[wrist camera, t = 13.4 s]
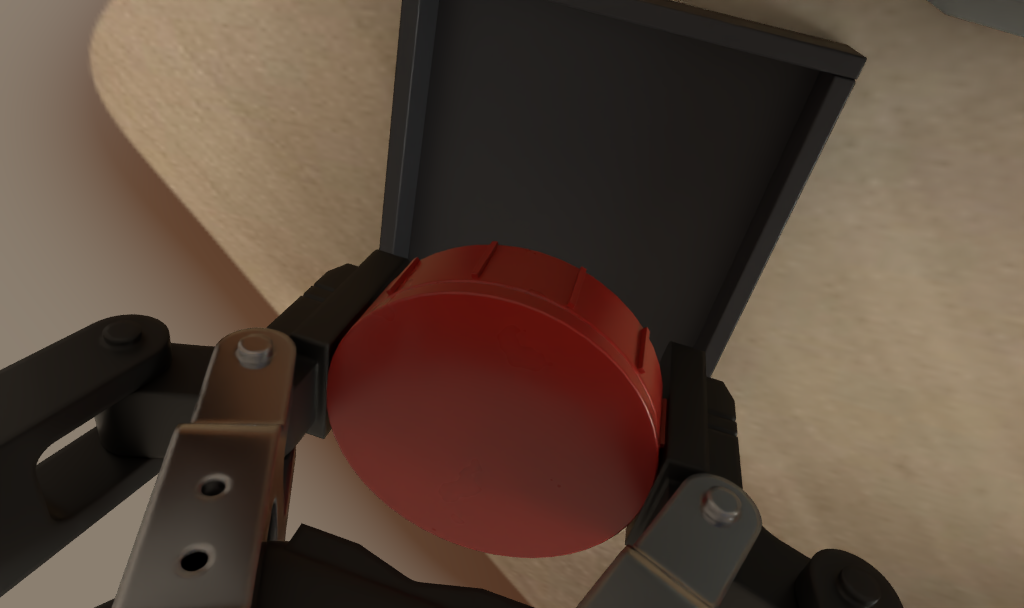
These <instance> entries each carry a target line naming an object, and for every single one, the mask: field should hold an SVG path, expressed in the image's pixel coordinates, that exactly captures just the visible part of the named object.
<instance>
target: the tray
mask: <svg viewBox="0 0 1024 608" xmlns="http://www.w3.org/2000/svg"><path fill="white" fill-rule="evenodd" d="M866 60H867V58H866V57H865V56H863V55H862V54H860V53H859V52H857V51H856V50H854V49H853V48H851V47H850V46H848V45H846V44H842V43H838V42H834V41H830V40H826V39H822V38H818V37H814V36H810V35H806V34H802V33H798V32H794V31H790V30H786V29H782V28H778V27H774V26H770V25H766V24H762V23H758V22H754V21H750V20H746V19H742V18H738V17H734V16H730V15H726V14H722V13H718V12H714V11H710V10H706V9H702V8H698V7H694V6H690V5H686V4H682V3H678V2H674V1H670V0H402V6H401V17H400V28H399V39H398V50H397V61H396V72H395V83H394V94H393V105H392V116H391V127H390V138H389V149H388V160H387V171H386V182H385V193H384V204H383V215H382V226H381V237H380V248H379V250H381V251H384V252H387V253H391V254H394V255H397V256H400V257H404V258H407V259H409V260H410V262H411V261H412V260H413V259H414V258H416V257H418V258H419V260H421V259H424V258H426V257H428V256H430V255H433V254H435V253H438V252H441V251H445V250H448V249H452V248H457V247H463V246H471V245H490V244H491V242H492V241H498V245H505V246H514V247H521V248H525V249H529V250H534V251H538V252H541V253H544V254H547V255H550V256H552V257H555V258H558V259H561V260H563V261H565V262H567V263H569V264H571V265H573V266H575V267H577V268H579V269H580V267H581V266H582V267H584V268H585V269H587V270H586V273H587V274H589V275H591V276H592V277H594V278H595V279H596V280H598V281H599V282H601V283H602V284H603V285H604V286H606V287H607V288H608V289H609V290H610V291H612V292H613V293H614V294H615V295H616V296H617V297H618V298H619V299H620V300H621V301H622V302H623V303H624V304H625V305H626V306H627V307H628V308H629V310H630V311H631V312H632V313H633V314H634V316H635V317H636V318H637V320H638V321H639V323H640V324H641V326H642V327H643V328H645V327H647V328H648V329H649V331H650V335H649V340H650V342H651V344H652V345H653V347H654V350H655V353H656V356H657V359H658V362H659V363H660V360H661V358H662V356H663V353H664V351H665V349H666V347H667V345H668V343H669V342H670V341H673V342H676V343H679V344H682V345H685V346H689V347H692V348H695V349H698V350H702V351H704V352H705V354H706V377H709V378H710V377H711V375H712V373H713V371H714V369H715V367H716V365H717V363H718V361H719V359H720V357H721V355H722V353H723V351H724V349H725V347H726V344H727V342H728V340H729V338H730V336H731V334H732V332H733V330H734V328H735V326H736V324H737V322H738V320H739V318H740V316H741V314H742V312H743V310H744V308H745V306H746V304H747V302H748V300H749V298H750V296H751V294H752V292H753V290H754V288H755V286H756V284H757V282H758V280H759V278H760V276H761V273H762V271H763V269H764V267H765V265H766V263H767V261H768V259H769V257H770V255H771V253H772V251H773V249H774V247H775V245H776V243H777V241H778V239H779V237H780V235H781V233H782V231H783V229H784V227H785V225H786V223H787V221H788V219H789V217H790V215H791V213H792V211H793V209H794V207H795V205H796V202H797V200H798V198H799V196H800V194H801V192H802V190H803V188H804V186H805V184H806V182H807V180H808V178H809V176H810V174H811V172H812V170H813V168H814V166H815V164H816V162H817V160H818V158H819V156H820V154H821V152H822V150H823V148H824V146H825V144H826V142H827V140H828V138H829V136H830V134H831V131H832V129H833V127H834V125H835V123H836V121H837V119H838V117H839V115H840V113H841V111H842V109H843V107H844V105H845V103H846V101H847V99H848V97H849V95H850V93H851V91H852V89H853V87H854V85H855V82H856V81H855V80H854V79H857V78H858V77H859V75H860V73H861V71H862V69H863V67H864V64H865V62H866Z"/></svg>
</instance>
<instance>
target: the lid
mask: <svg viewBox="0 0 1024 608" xmlns="http://www.w3.org/2000/svg"><path fill="white" fill-rule="evenodd" d="M586 270H587V269H585V268H584V267H582V266H581V267H580V269H579V268H577V267H575V266H573V265H571V264H569V263H567V262H565V261H563V260H561V259H558V258H555V257H552V256H550V255H547V254H544V253H541V252H538V251H534V250H529V249H525V248H521V247H514V246H505V245H498V241H492V242H491V244H490V245H471V246H463V247H457V248H452V249H448V250H445V251H441V252H438V253H435V254H433V255H430V256H428V257H426V258H424V259H421V260H419V258H418V257H416V258H414V259H413V260H412V261H411V262H410V264H409V265H408V266H407V267H406V268H405V269H404V270H403V272H401V273H400V274H399V275H398V276H397V277H396V278H395V279H394V280H393V281H392V282H391V283H390V284H389V285H388V286H387V287H386V288H385V290H384V291H383V292H382V293H381V294H380V295H379V296H378V298H377V299H376V300H375V301H374V302H373V303H372V304H371V306H370V307H369V308H368V309H367V310H366V311H365V313H364V314H363V315H362V316H361V317H360V318H359V320H358V321H357V322H356V323H355V324H354V325H353V326H352V327H351V329H350V330H349V331H348V332H347V334H346V335H345V336H344V337H343V338H342V340H341V341H340V343H339V345H338V347H337V349H336V351H335V353H334V355H333V357H332V360H331V363H330V366H329V370H328V381H327V412H328V417H329V422H330V425H331V428H332V431H333V434H334V437H335V439H336V441H337V443H338V445H339V447H340V449H341V451H342V453H343V455H344V456H345V458H346V460H347V461H348V463H349V464H350V466H351V467H352V469H353V470H354V471H355V473H356V474H357V475H358V476H359V478H360V479H361V480H362V481H363V482H364V484H365V485H366V486H367V487H368V488H369V489H370V490H371V491H372V492H373V493H374V494H375V495H376V496H377V497H378V498H380V499H381V500H382V501H383V502H384V503H385V504H386V505H388V506H389V507H390V508H391V509H393V510H394V511H395V512H397V513H398V514H400V515H401V516H402V517H404V518H405V519H407V520H408V521H410V522H412V523H413V524H415V525H417V526H418V527H420V528H422V529H423V530H425V531H427V532H430V533H431V534H433V535H436V536H438V537H440V538H442V539H444V540H447V541H450V542H452V543H454V544H457V545H460V546H463V547H466V548H470V549H473V550H476V551H481V552H485V553H490V554H494V555H501V556H509V557H520V558H542V557H555V556H561V555H567V554H572V553H575V552H579V551H582V550H586V549H589V548H591V547H593V546H596V545H598V544H601V543H603V542H604V541H606V540H608V539H610V538H611V537H613V536H615V535H616V534H618V533H619V532H620V531H621V530H623V529H624V528H625V527H626V526H628V525H629V524H630V523H631V522H632V521H633V519H634V518H635V517H636V516H637V515H638V514H639V512H640V510H641V508H642V506H643V504H644V502H645V500H646V498H647V496H648V494H649V492H650V490H651V488H652V486H653V484H654V481H655V479H656V476H657V470H658V465H659V448H663V446H664V443H665V424H666V405H667V399H665V398H663V383H662V377H661V371H660V365H659V362H658V359H657V356H656V353H655V350H654V347H653V345H652V344H651V342H650V340H649V335H650V331H649V329H648V328H647V327H645V328H643V327H642V326H641V324H640V323H639V321H638V320H637V318H636V317H635V316H634V314H633V313H632V312H631V311H630V310H629V308H628V307H627V306H626V305H625V304H624V303H623V302H622V301H621V300H620V299H619V298H618V297H617V296H616V295H615V294H614V293H613V292H612V291H610V290H609V289H608V288H607V287H606V286H604V285H603V284H602V283H601V282H599V281H598V280H596V279H595V278H594V277H592V276H591V275H589V274H587V273H586Z"/></svg>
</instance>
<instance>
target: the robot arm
mask: <svg viewBox="0 0 1024 608" xmlns="http://www.w3.org/2000/svg"><path fill="white" fill-rule="evenodd" d="M409 264H410V260H409V259H407V258H404V257H400V256H397V255H394V254H391V253H387V252H384V251H381V250H375V251H374V252H373V253H372V254H371V255H370V256H369V257H368V258H367V259H366V260H365V261H364V262H363V263H362V264H360V265H359V266H355V265H352V264H345V265H343V266H340V267H337V268H335V269H332V270H330V271H328V272H326V273H325V274H324V275H323V276H322V277H321V278H320V279H319V280H318V281H317V282H316V283H315V284H314V286H311V287H310V288H309V289H308V290H307V291H306V292H305V293H304V295H303V296H300V297H299V298H298V299H297V300H296V301H295V302H294V303H293V304H292V305H291V306H289V307H288V308H287V309H286V310H285V311H284V312H283V313H282V314H281V315H280V316H279V317H278V318H276V319H275V320H274V321H273V322H272V323H271V324H270V325H269V326H268V327H267V328H248V329H243V330H239V331H236V332H233V333H231V334H229V335H227V336H225V337H224V338H222V339H221V340H220V341H219V342H218V343H217V345H216V346H215V347H213V346H199V345H187V344H176V343H171V342H170V335H169V330H168V328H167V326H166V325H165V324H164V323H163V322H161V321H160V320H158V319H155V318H153V317H149V316H144V315H132V314H131V315H120V316H114V317H110V318H106V319H103V320H100V321H98V322H95V323H93V324H91V325H89V326H87V327H85V328H83V329H81V330H79V331H77V332H75V333H73V334H71V335H69V336H67V337H66V338H64V339H61V340H60V341H57V342H55V343H53V344H51V345H49V346H47V347H46V348H43V349H41V350H39V351H37V352H35V353H34V354H32V355H29V356H28V357H26V358H24V359H22V360H20V361H18V362H16V363H14V364H12V365H10V366H8V367H6V368H4V369H2V370H0V597H1V596H3V595H4V594H5V593H6V592H7V591H9V590H10V589H12V588H13V587H14V586H15V585H17V584H18V583H19V582H20V581H22V580H23V579H24V578H26V577H27V576H28V575H29V574H31V573H32V572H33V571H35V570H36V569H37V568H38V567H39V566H41V565H42V564H43V563H45V562H46V561H47V560H49V559H50V558H51V557H52V556H54V555H55V554H56V553H57V552H59V551H60V550H61V549H63V548H64V547H65V546H66V545H68V544H69V543H70V542H71V541H73V540H74V539H75V538H77V537H78V536H79V535H80V534H82V533H83V532H84V531H86V530H87V529H88V528H89V527H91V526H92V525H93V524H94V523H96V522H97V521H98V520H99V519H101V518H102V517H103V516H105V515H106V514H107V513H108V512H110V511H111V510H112V509H114V508H115V507H116V506H117V505H118V504H120V503H121V502H122V501H123V500H125V499H126V498H128V497H129V496H130V495H131V494H132V493H134V492H135V491H136V490H137V489H139V488H140V487H141V486H143V485H144V484H145V483H147V482H148V481H149V480H151V479H152V478H153V477H154V476H156V475H157V474H158V473H159V474H158V477H157V480H156V483H155V486H154V489H153V491H152V494H151V497H150V501H149V503H148V506H147V509H146V511H145V514H144V517H143V520H142V523H141V526H140V529H139V532H138V534H137V537H136V540H135V543H134V546H133V548H132V551H131V554H130V557H129V560H128V563H127V565H126V568H125V571H124V574H123V577H122V580H121V582H120V585H119V588H118V591H117V594H116V597H115V598H114V599H112V600H110V601H108V602H106V603H103V604H101V605H99V606H97V607H95V608H534V607H531V606H528V605H526V604H523V603H520V602H517V601H514V600H512V599H509V598H506V597H504V596H501V595H498V594H495V593H493V592H490V591H487V590H484V589H479V588H470V587H460V586H451V585H441V584H431V583H422V582H416V581H413V580H411V579H409V578H408V577H406V576H404V575H403V574H402V573H400V572H399V571H397V570H396V569H395V568H393V567H392V566H390V565H389V564H387V563H386V562H384V561H383V560H381V559H380V558H379V557H377V556H376V555H374V554H373V553H371V552H370V551H368V550H367V549H366V548H364V547H363V546H361V545H360V544H357V543H355V542H352V541H349V540H346V539H344V538H341V537H338V536H335V535H333V534H330V533H327V532H324V531H322V530H319V529H316V528H313V527H310V526H307V525H305V524H301V525H300V527H299V528H298V530H297V531H296V533H295V534H294V536H293V537H292V539H291V540H290V541H285V534H286V525H287V519H288V510H289V503H290V495H291V488H292V481H293V473H294V465H295V458H296V445H297V444H298V442H299V441H300V440H301V439H302V437H303V436H304V435H305V433H308V434H310V435H314V436H316V437H319V438H322V439H324V438H325V437H326V436H327V434H328V433H329V432H330V430H331V429H332V428H331V425H330V422H329V417H328V412H327V381H328V370H329V366H330V363H331V360H332V357H333V355H334V353H335V351H336V349H337V347H338V345H339V343H340V341H341V340H342V338H343V337H344V336H345V335H346V334H347V332H348V331H349V330H350V329H351V327H352V326H353V325H354V324H355V323H356V322H357V321H358V320H359V318H360V317H361V316H362V315H363V314H364V313H365V311H366V310H367V309H368V308H369V307H370V306H371V304H372V303H373V302H374V301H375V300H376V299H377V298H378V296H379V295H380V294H381V293H382V292H383V291H384V290H385V288H386V287H387V286H388V285H389V284H390V283H391V282H392V281H393V280H394V279H395V278H396V277H397V276H398V275H399V274H400V273H401V272H403V270H404V269H405V268H406V267H407V266H408V265H409ZM659 365H660V371H661V377H662V383H663V398H665V399H667V405H666V424H665V443H664V446H663V448H659V465H658V470H657V476H656V479H655V481H654V484H653V486H652V488H651V490H650V492H649V494H648V496H647V498H646V500H645V502H644V504H643V506H642V508H641V510H640V512H639V514H638V515H637V516H636V517H635V518H634V519H633V521H632V522H631V523H630V524H629V525H628V526H627V528H626V537H625V545H627V546H626V547H625V548H624V549H623V550H622V551H621V552H620V553H619V555H618V556H617V557H616V558H615V560H614V561H613V562H612V563H611V565H610V566H609V567H608V568H607V570H606V571H605V572H604V573H603V575H602V576H601V577H600V578H599V580H598V581H597V582H596V583H595V585H594V586H593V587H592V588H591V590H590V591H589V592H588V593H587V594H586V596H585V597H584V598H583V599H582V601H581V602H580V603H579V604H578V606H577V607H576V608H903V605H902V603H901V601H900V599H899V597H898V595H897V593H896V592H895V590H894V589H893V587H892V586H891V584H890V583H889V582H888V581H887V580H886V578H885V577H884V576H883V575H882V574H881V573H880V572H879V571H878V570H877V569H875V568H874V567H873V566H872V565H870V564H869V563H867V562H866V561H864V560H863V559H861V558H859V557H858V556H856V555H854V554H851V553H849V552H846V551H843V550H838V549H824V550H821V551H819V552H817V553H816V554H815V555H814V556H813V557H812V558H811V559H810V558H808V557H807V556H805V555H803V554H802V553H800V552H799V551H797V550H795V549H794V548H792V547H790V546H789V545H787V544H785V543H784V542H782V541H781V540H779V539H778V538H776V537H775V536H773V535H772V534H771V533H769V532H768V531H767V530H766V529H765V528H764V527H763V526H762V519H761V515H760V512H759V510H758V508H757V506H756V504H755V503H754V501H753V500H752V499H751V498H750V496H749V495H748V494H747V493H746V492H745V491H744V490H743V487H742V477H741V466H740V455H739V444H738V437H737V423H736V422H735V420H736V412H735V402H734V399H733V398H732V396H731V394H730V393H729V391H728V389H727V388H726V386H725V384H724V383H723V382H722V381H719V380H716V379H713V378H709V377H706V354H705V352H704V351H702V350H698V349H695V348H692V347H689V346H685V345H682V344H679V343H676V342H673V341H670V342H669V343H668V345H667V347H666V349H665V351H664V353H663V356H662V358H661V360H660V363H659ZM93 417H95V421H96V425H97V426H96V427H95V428H93V429H91V430H90V431H88V432H87V433H85V434H84V435H83V436H81V437H79V438H78V439H76V440H75V441H73V442H71V443H70V444H68V445H67V446H65V447H64V448H62V449H61V450H59V451H58V452H56V453H55V454H53V455H52V456H50V457H48V458H47V459H45V460H44V461H42V462H41V463H39V464H38V465H36V464H37V462H38V459H39V458H40V456H41V455H42V453H43V452H44V451H45V450H46V449H47V447H49V446H50V445H51V444H53V443H54V442H55V441H57V440H59V439H60V438H62V437H63V436H65V435H67V434H68V433H70V432H71V431H73V430H74V429H76V428H77V427H79V426H81V425H82V424H84V423H85V422H87V421H89V420H90V419H92V418H93Z"/></svg>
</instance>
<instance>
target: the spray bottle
mask: <svg viewBox="0 0 1024 608" xmlns="http://www.w3.org/2000/svg"><path fill="white" fill-rule="evenodd" d="M927 1H928V2H930V3H931V4H932V5H934V6H935V7H936V8H938V9H939V10H940V11H942V12H943V13H944V14H946V15H949V16H953V17H956V18H960V19H963V20H966V21H970V22H973V23H977V24H980V25H983V26H987V27H990V28H994V29H997V30H1000V31H1004V32H1007V33H1011V34H1014V35H1017V36H1021V37H1024V0H927Z"/></svg>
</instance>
